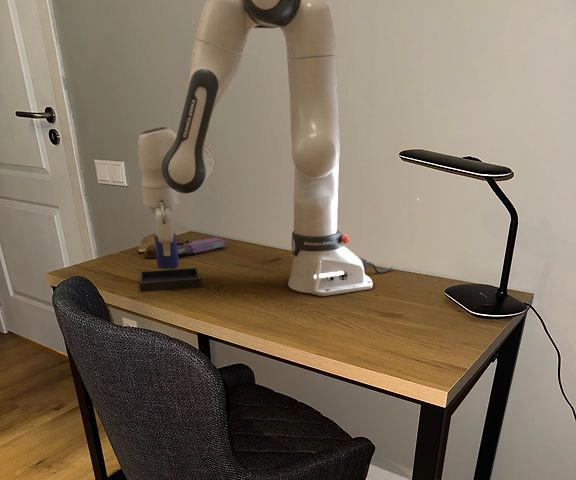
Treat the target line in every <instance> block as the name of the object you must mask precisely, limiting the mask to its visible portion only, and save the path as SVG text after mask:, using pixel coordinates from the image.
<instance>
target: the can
mask: <svg viewBox="0 0 576 480" xmlns="http://www.w3.org/2000/svg"><path fill="white" fill-rule="evenodd" d="M154 234H155V235H154V241H155V249H156V257H155V258H156V267H157V268H159V269H158V270H171V269H178V266H179V265H180V264H179V255H178V252H177V234H176V233H175V231H173V242H171V243H170V252H171V255H170V256H164V254H163V247H162V243H159V240H158V233H157V232H155V233H154Z"/></svg>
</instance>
